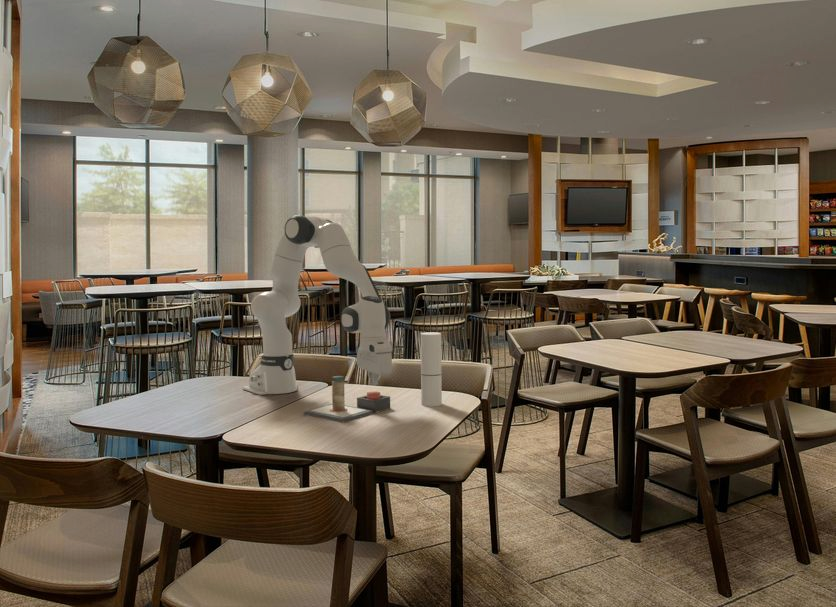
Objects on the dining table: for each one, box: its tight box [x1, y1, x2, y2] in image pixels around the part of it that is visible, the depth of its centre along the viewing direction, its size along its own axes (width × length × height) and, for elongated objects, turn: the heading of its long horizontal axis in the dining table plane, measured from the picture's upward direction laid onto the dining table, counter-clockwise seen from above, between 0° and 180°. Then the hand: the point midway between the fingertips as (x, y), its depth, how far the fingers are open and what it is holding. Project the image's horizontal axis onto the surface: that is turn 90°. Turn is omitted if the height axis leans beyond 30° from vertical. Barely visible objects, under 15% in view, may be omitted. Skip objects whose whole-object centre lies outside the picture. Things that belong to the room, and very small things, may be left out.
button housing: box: [356, 394, 391, 414], centre depth 227 cm, size 8×8×4 cm
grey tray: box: [303, 403, 374, 423], centre depth 221 cm, size 18×14×1 cm
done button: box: [366, 391, 381, 400], centre depth 227 cm, size 5×5×3 cm
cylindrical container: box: [420, 331, 443, 407], centre depth 232 cm, size 7×7×25 cm
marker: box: [331, 375, 345, 411], centre depth 220 cm, size 4×4×11 cm
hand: (373, 384), depth 226 cm, fingers closed
